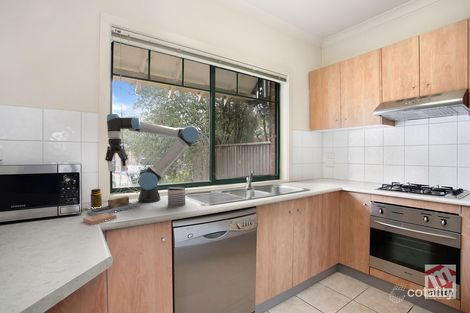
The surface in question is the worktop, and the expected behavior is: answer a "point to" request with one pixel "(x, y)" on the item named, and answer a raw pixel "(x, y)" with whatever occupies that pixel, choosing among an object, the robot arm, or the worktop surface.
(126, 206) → the board
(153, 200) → the robot arm
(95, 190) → the condiment
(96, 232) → the worktop surface
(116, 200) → the turner
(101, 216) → the tile
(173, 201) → the can
